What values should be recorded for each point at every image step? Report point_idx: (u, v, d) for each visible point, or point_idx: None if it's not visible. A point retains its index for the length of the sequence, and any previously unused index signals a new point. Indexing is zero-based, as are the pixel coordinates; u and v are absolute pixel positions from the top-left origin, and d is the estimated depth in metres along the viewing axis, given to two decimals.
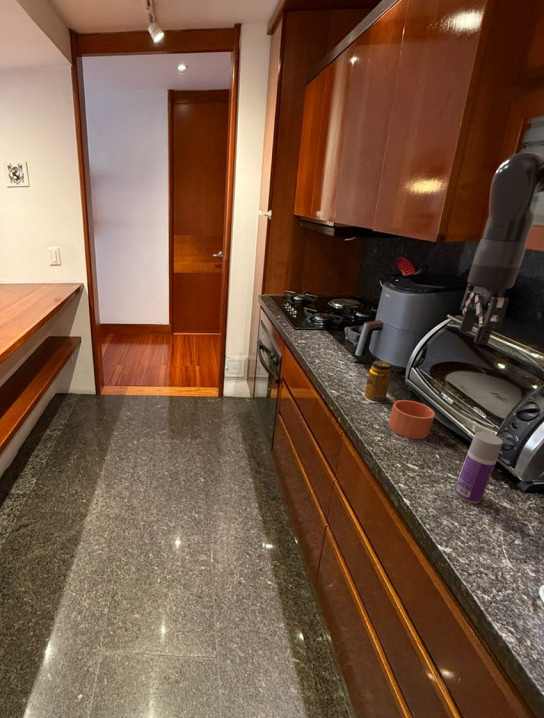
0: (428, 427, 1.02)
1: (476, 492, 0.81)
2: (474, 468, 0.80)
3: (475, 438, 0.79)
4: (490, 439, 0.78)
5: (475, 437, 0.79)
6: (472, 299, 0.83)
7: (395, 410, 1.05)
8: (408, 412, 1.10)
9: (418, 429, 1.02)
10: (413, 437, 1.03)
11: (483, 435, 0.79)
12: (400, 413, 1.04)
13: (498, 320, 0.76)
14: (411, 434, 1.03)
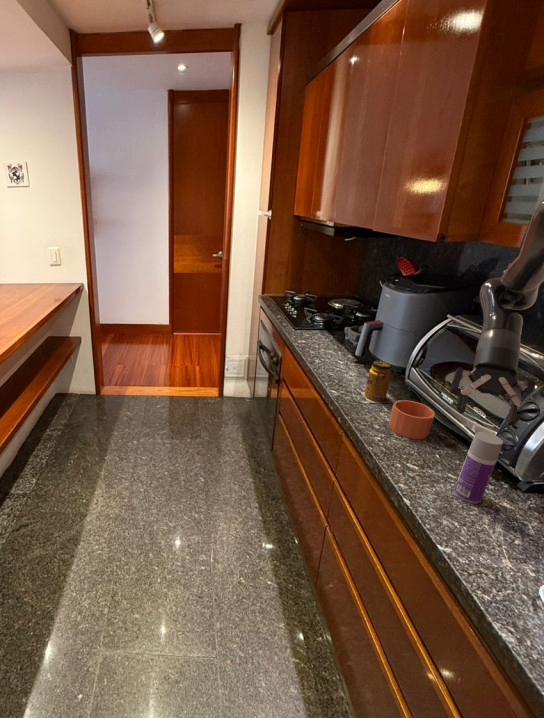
0: (428, 427, 1.02)
1: (476, 492, 0.81)
2: (474, 468, 0.80)
3: (475, 438, 0.79)
4: (490, 439, 0.78)
5: (475, 437, 0.79)
6: None
7: (395, 410, 1.05)
8: (408, 412, 1.10)
9: (418, 429, 1.02)
10: (413, 437, 1.03)
11: (484, 435, 0.79)
12: (400, 413, 1.04)
13: None
14: (411, 434, 1.03)
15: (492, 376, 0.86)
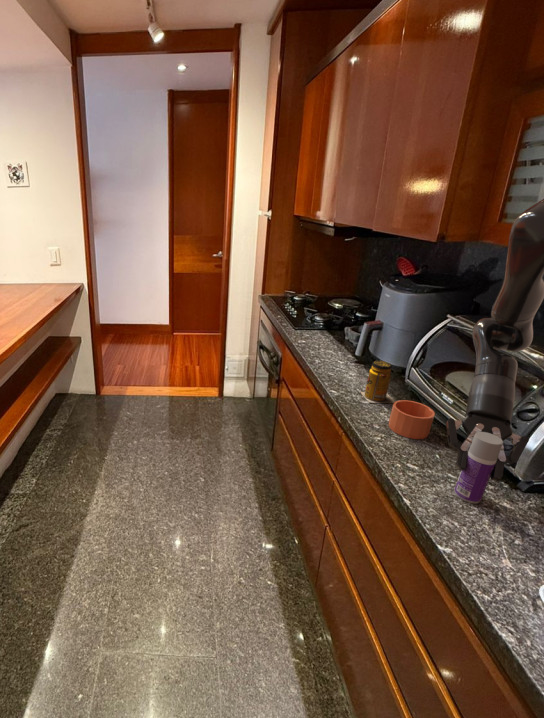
0: (428, 427, 1.02)
1: (476, 492, 0.81)
2: (474, 468, 0.80)
3: (475, 438, 0.79)
4: (490, 439, 0.78)
5: (475, 437, 0.79)
6: None
7: (395, 410, 1.05)
8: (408, 412, 1.10)
9: (418, 429, 1.02)
10: (413, 437, 1.03)
11: (483, 435, 0.79)
12: (400, 413, 1.04)
13: None
14: (411, 434, 1.03)
15: (485, 425, 0.82)
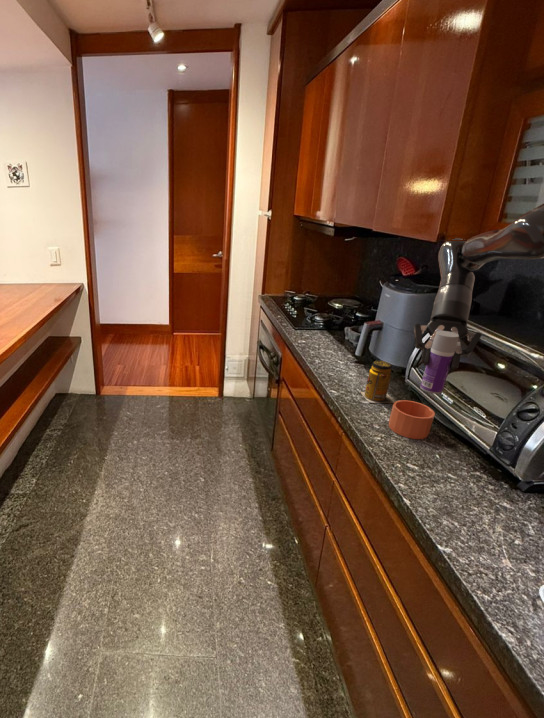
0: (428, 427, 1.02)
1: (438, 383, 0.94)
2: (435, 361, 0.93)
3: (436, 335, 0.92)
4: (448, 334, 0.91)
5: (436, 334, 0.93)
6: None
7: (395, 410, 1.05)
8: (408, 412, 1.10)
9: (418, 429, 1.02)
10: (413, 437, 1.03)
11: (443, 332, 0.93)
12: (400, 413, 1.04)
13: None
14: (411, 434, 1.03)
15: (446, 327, 0.95)
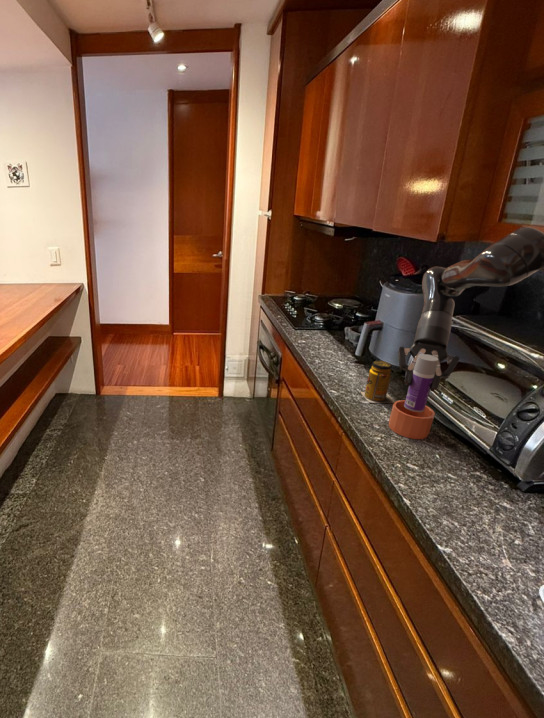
0: (428, 427, 1.02)
1: (420, 402, 1.02)
2: (417, 382, 1.01)
3: (417, 358, 1.00)
4: (429, 358, 0.99)
5: (417, 357, 1.00)
6: None
7: (395, 410, 1.05)
8: (408, 412, 1.10)
9: (418, 429, 1.02)
10: (413, 437, 1.03)
11: (424, 355, 1.00)
12: (400, 413, 1.04)
13: None
14: (411, 434, 1.03)
15: (427, 350, 1.03)
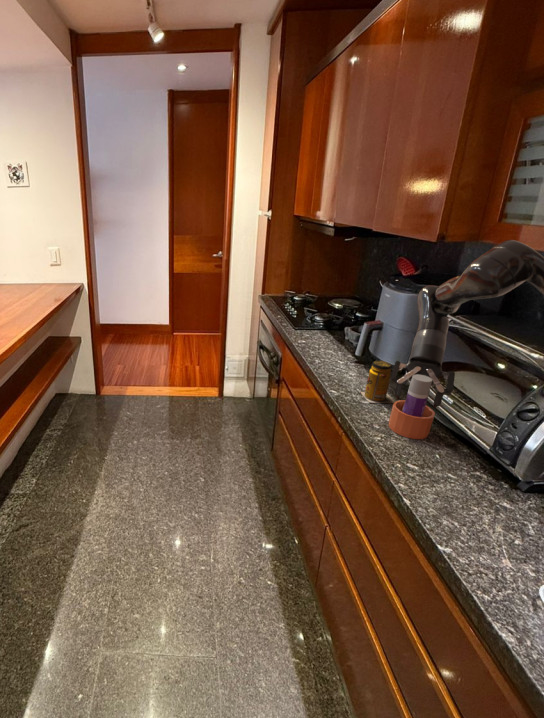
0: (428, 427, 1.02)
1: None
2: (411, 402, 1.03)
3: (412, 378, 1.02)
4: (423, 378, 1.01)
5: (412, 378, 1.02)
6: None
7: (395, 410, 1.05)
8: None
9: (418, 429, 1.02)
10: (413, 437, 1.03)
11: (419, 376, 1.03)
12: (400, 413, 1.04)
13: None
14: (411, 434, 1.03)
15: (422, 368, 1.05)
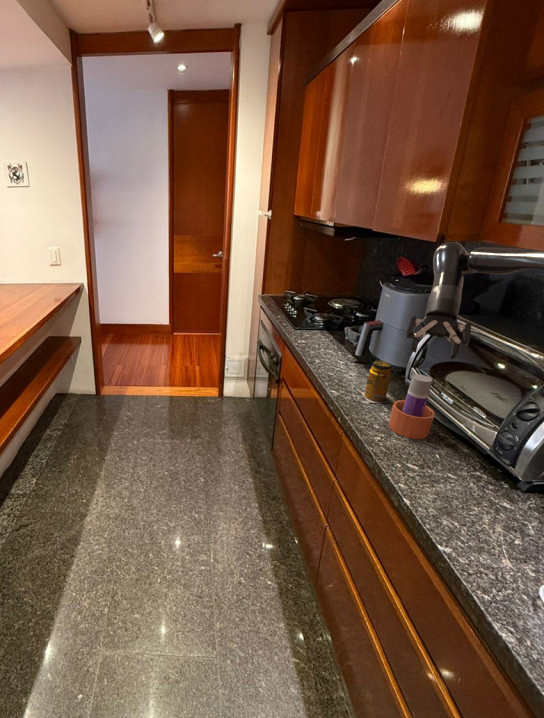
0: (428, 427, 1.02)
1: None
2: (411, 402, 1.03)
3: (412, 378, 1.02)
4: (423, 378, 1.01)
5: (412, 378, 1.02)
6: None
7: (395, 410, 1.05)
8: None
9: (418, 429, 1.02)
10: (413, 437, 1.03)
11: (419, 376, 1.03)
12: (400, 413, 1.04)
13: None
14: (411, 434, 1.03)
15: (438, 322, 1.07)
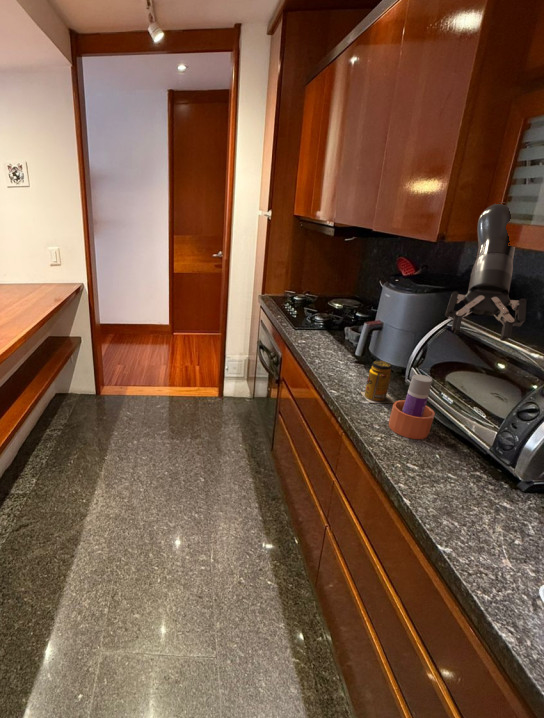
0: (428, 427, 1.02)
1: None
2: (411, 402, 1.03)
3: (412, 378, 1.02)
4: (423, 378, 1.01)
5: (412, 378, 1.02)
6: None
7: (395, 410, 1.05)
8: None
9: (418, 429, 1.02)
10: (413, 437, 1.03)
11: (419, 376, 1.03)
12: (400, 413, 1.04)
13: None
14: (411, 434, 1.03)
15: (486, 297, 0.90)
